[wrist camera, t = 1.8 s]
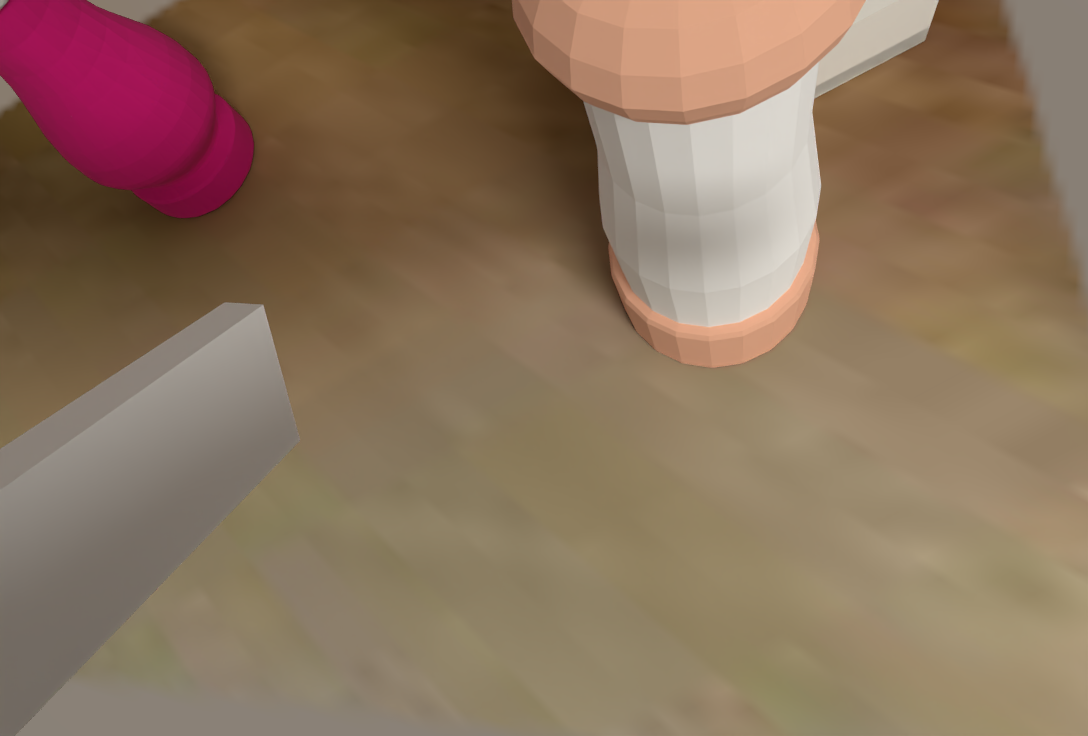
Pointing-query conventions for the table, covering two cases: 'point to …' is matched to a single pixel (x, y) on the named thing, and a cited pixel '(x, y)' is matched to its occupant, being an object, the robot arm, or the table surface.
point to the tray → (875, 39)
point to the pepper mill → (124, 104)
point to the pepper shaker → (700, 157)
